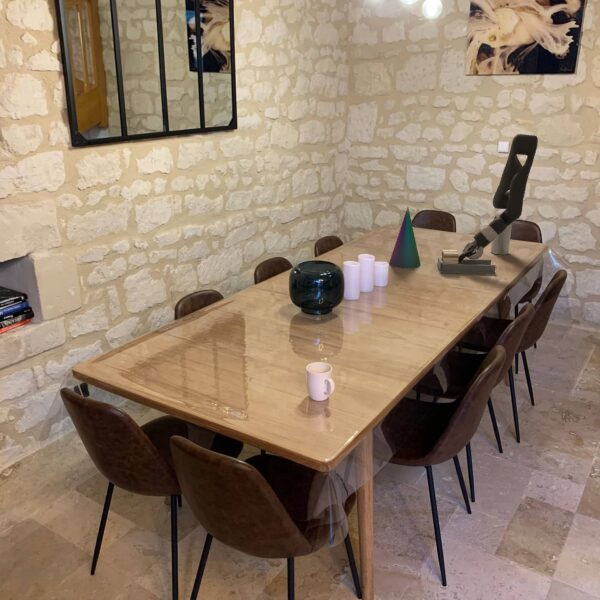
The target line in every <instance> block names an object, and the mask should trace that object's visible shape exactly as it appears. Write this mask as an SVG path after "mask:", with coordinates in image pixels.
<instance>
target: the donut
mask: <svg viewBox="0 0 600 600" xmlns="http://www.w3.org/2000/svg"><path fill="white" fill-rule="evenodd" d="M473 241H474V240H471V241H468V242H467V243H466V244H465V246H464V248H465V247H466V246H467V244H468V243H471V242H473ZM464 248H463V249H464ZM484 251H485V248H482V247H480V248H479V249H478V250H477V251H476V252H477V253H476V254H474V255H472V256H470V257H466V258H467V259H481V258H482V256H483V254H484Z"/></svg>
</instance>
